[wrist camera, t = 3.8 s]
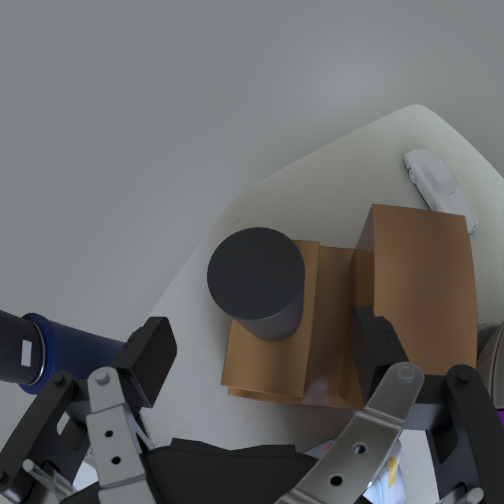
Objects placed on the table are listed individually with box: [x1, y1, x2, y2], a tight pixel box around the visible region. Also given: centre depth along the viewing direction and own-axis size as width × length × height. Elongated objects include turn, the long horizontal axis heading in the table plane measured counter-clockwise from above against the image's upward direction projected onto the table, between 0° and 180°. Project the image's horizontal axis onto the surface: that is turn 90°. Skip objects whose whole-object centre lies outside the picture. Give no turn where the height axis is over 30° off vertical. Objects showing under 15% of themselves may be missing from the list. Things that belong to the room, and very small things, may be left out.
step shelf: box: [221, 204, 477, 409], centre depth 19 cm, size 16×14×10 cm
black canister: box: [207, 227, 305, 342], centre depth 17 cm, size 4×4×9 cm
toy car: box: [404, 147, 479, 234], centre depth 25 cm, size 5×12×4 cm, turn 16°
